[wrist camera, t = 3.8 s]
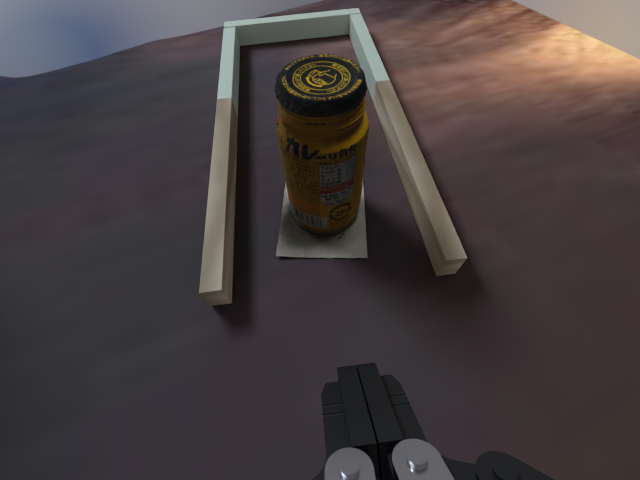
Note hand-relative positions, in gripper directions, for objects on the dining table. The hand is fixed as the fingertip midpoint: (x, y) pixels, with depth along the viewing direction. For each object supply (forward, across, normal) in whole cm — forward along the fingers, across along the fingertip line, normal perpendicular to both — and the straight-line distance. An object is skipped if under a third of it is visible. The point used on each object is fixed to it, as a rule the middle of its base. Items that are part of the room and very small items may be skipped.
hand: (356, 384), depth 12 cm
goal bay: (+32, 0, -20) cm, 38 cm away
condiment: (+16, 0, -4) cm, 17 cm away
